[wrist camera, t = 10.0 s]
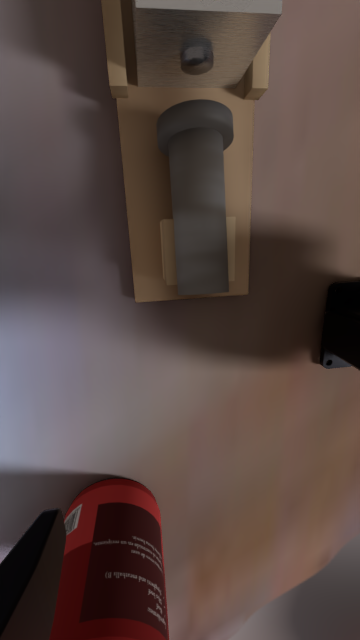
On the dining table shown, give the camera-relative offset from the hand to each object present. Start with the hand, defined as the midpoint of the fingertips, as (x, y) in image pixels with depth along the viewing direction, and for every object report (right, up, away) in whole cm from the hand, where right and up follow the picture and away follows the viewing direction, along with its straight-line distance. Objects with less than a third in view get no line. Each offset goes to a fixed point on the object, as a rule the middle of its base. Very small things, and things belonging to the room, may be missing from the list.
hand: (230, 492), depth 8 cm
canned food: (-7, -11, +15) cm, 20 cm away
